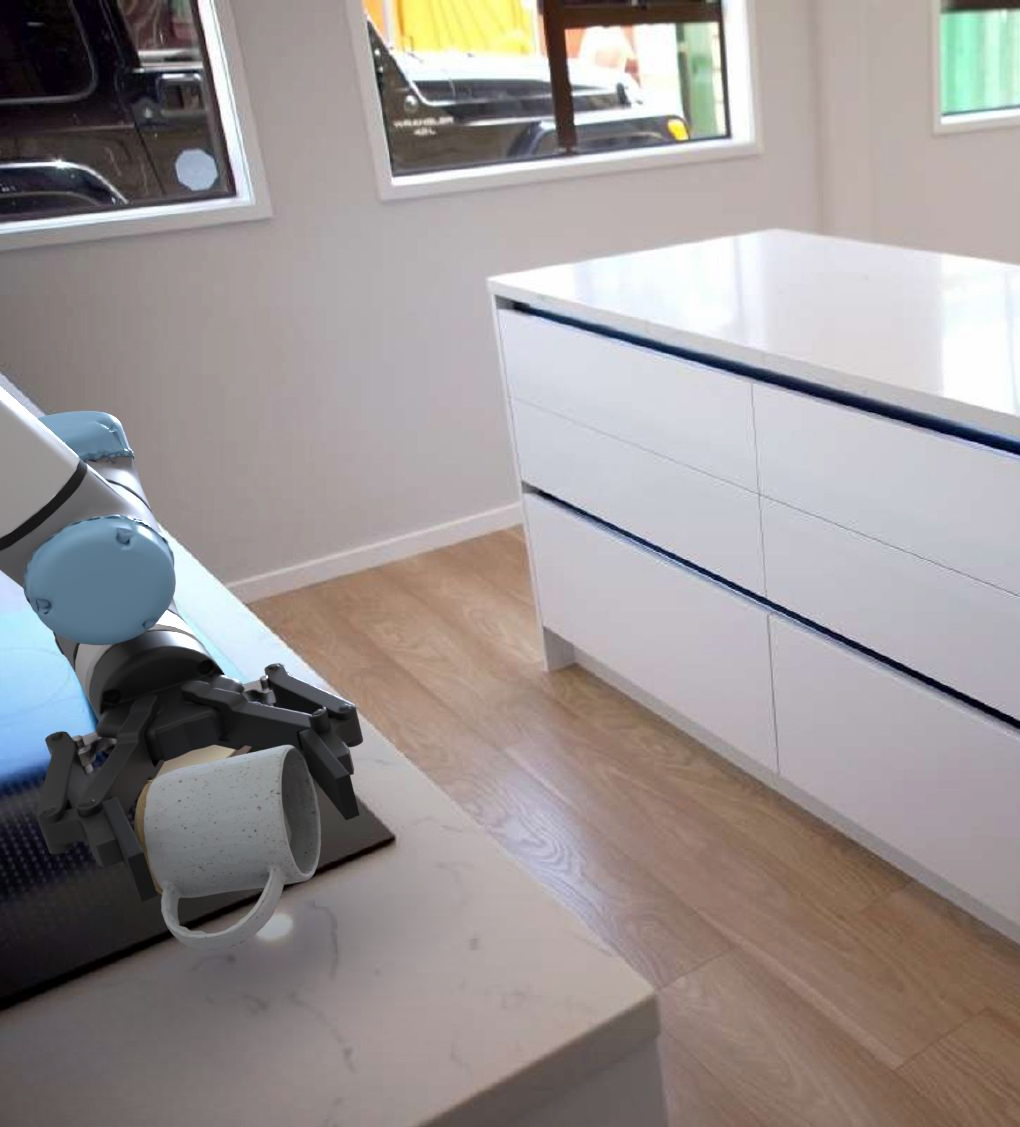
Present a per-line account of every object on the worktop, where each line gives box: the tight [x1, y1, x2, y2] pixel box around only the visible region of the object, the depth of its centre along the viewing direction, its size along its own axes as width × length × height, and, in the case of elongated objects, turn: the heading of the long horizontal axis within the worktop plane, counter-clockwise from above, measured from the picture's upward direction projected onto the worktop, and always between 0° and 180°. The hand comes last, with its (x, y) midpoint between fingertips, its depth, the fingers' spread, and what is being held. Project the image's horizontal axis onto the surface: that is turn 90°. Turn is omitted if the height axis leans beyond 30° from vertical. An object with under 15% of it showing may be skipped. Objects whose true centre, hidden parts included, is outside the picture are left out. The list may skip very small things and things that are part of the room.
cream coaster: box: [140, 745, 253, 793], centre depth 98 cm, size 10×10×1 cm
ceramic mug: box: [133, 745, 322, 952], centre depth 71 cm, size 11×8×8 cm
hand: (249, 835), depth 68 cm, fingers closed on ceramic mug, 10 cm apart
